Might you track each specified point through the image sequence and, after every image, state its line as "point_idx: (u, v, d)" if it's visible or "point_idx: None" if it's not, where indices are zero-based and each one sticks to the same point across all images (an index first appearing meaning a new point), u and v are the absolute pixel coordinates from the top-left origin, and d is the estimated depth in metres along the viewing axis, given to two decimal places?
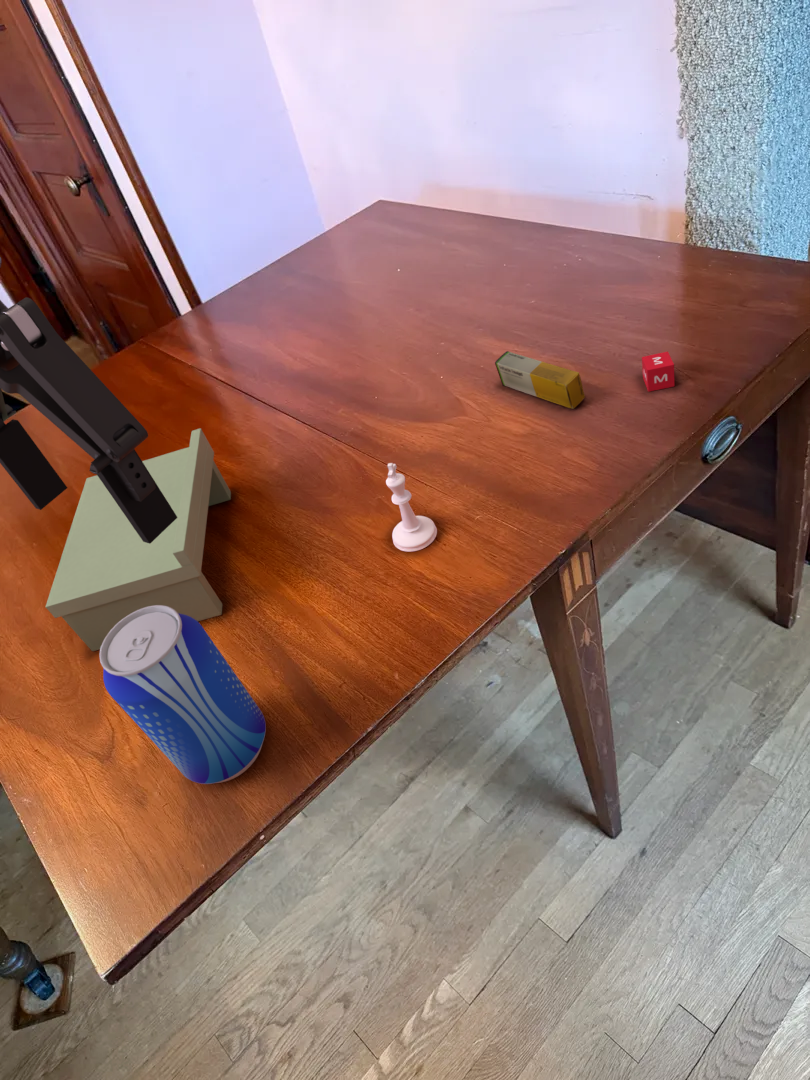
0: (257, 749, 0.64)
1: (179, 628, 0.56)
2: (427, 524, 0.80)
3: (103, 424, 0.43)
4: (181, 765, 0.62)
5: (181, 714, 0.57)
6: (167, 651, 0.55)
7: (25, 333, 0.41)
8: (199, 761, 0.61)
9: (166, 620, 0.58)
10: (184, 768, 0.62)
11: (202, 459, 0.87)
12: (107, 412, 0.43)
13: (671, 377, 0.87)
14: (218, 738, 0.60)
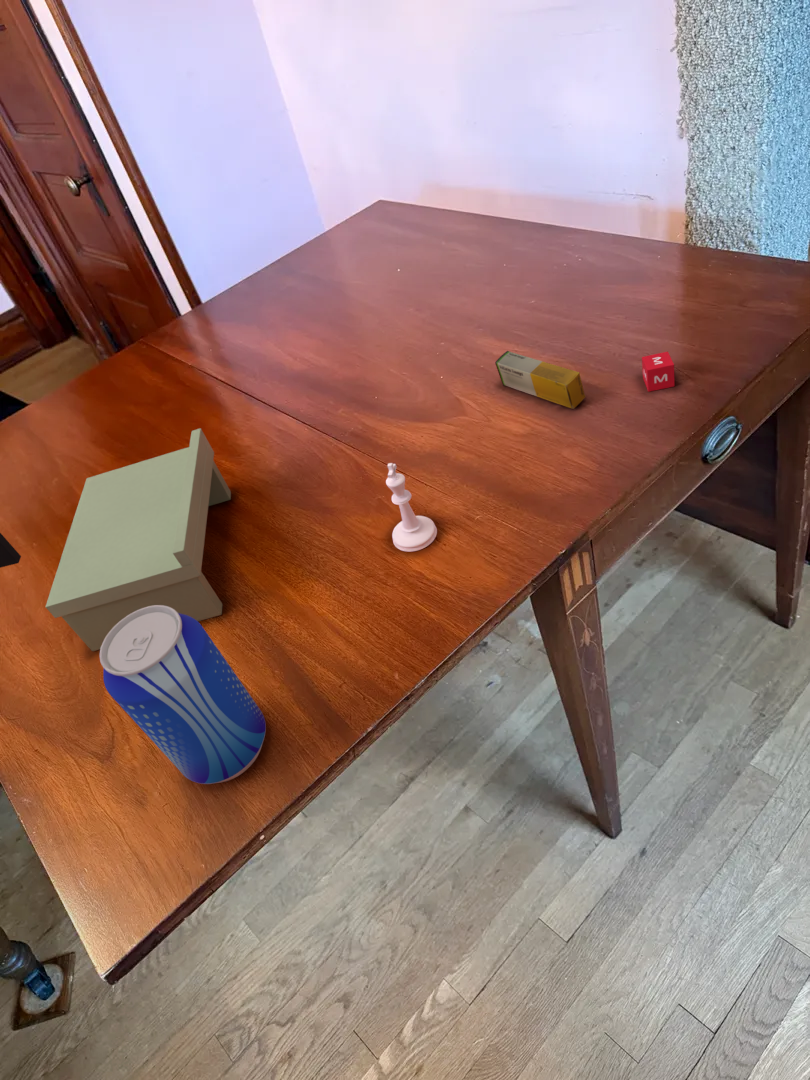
0: (257, 749, 0.64)
1: (179, 628, 0.56)
2: (427, 524, 0.80)
3: None
4: (181, 765, 0.62)
5: (181, 714, 0.57)
6: (167, 651, 0.55)
7: None
8: (199, 761, 0.61)
9: (166, 620, 0.58)
10: (184, 768, 0.62)
11: (202, 459, 0.87)
12: None
13: (671, 377, 0.87)
14: (218, 738, 0.60)
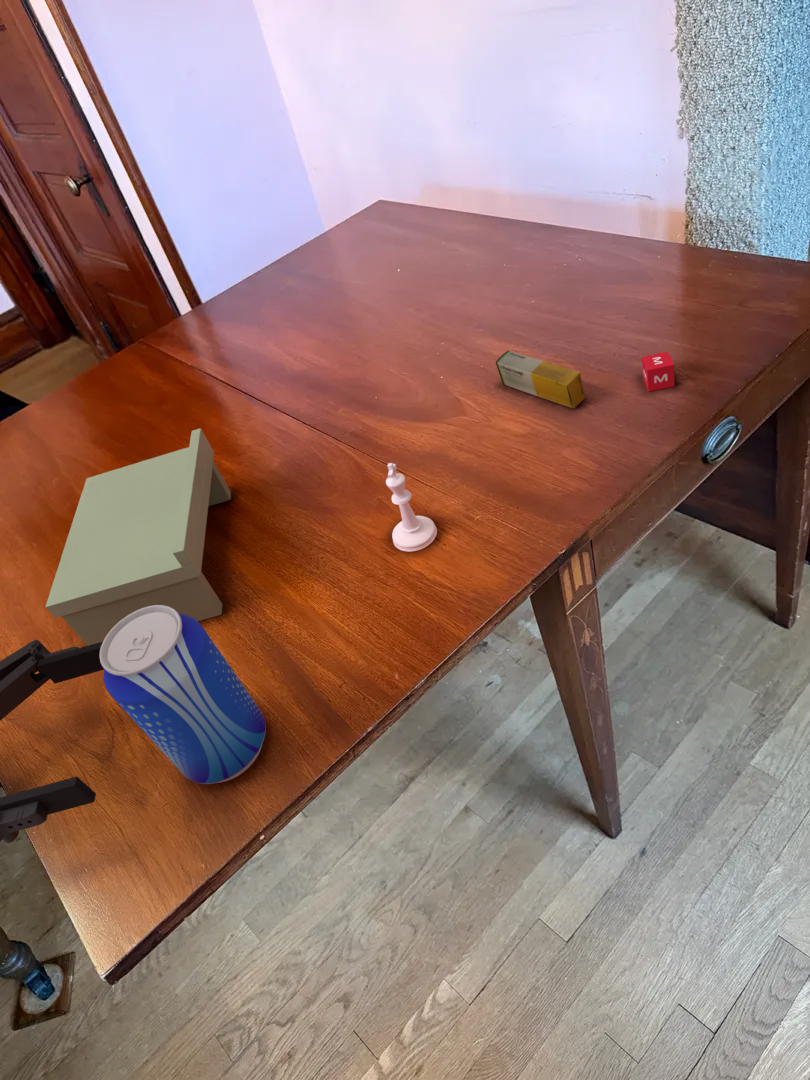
0: (257, 749, 0.64)
1: (179, 628, 0.56)
2: (427, 524, 0.80)
3: None
4: (181, 765, 0.62)
5: (181, 714, 0.57)
6: (167, 651, 0.55)
7: None
8: (199, 761, 0.61)
9: (166, 620, 0.58)
10: (184, 768, 0.62)
11: (202, 459, 0.87)
12: None
13: (671, 377, 0.87)
14: (218, 738, 0.60)
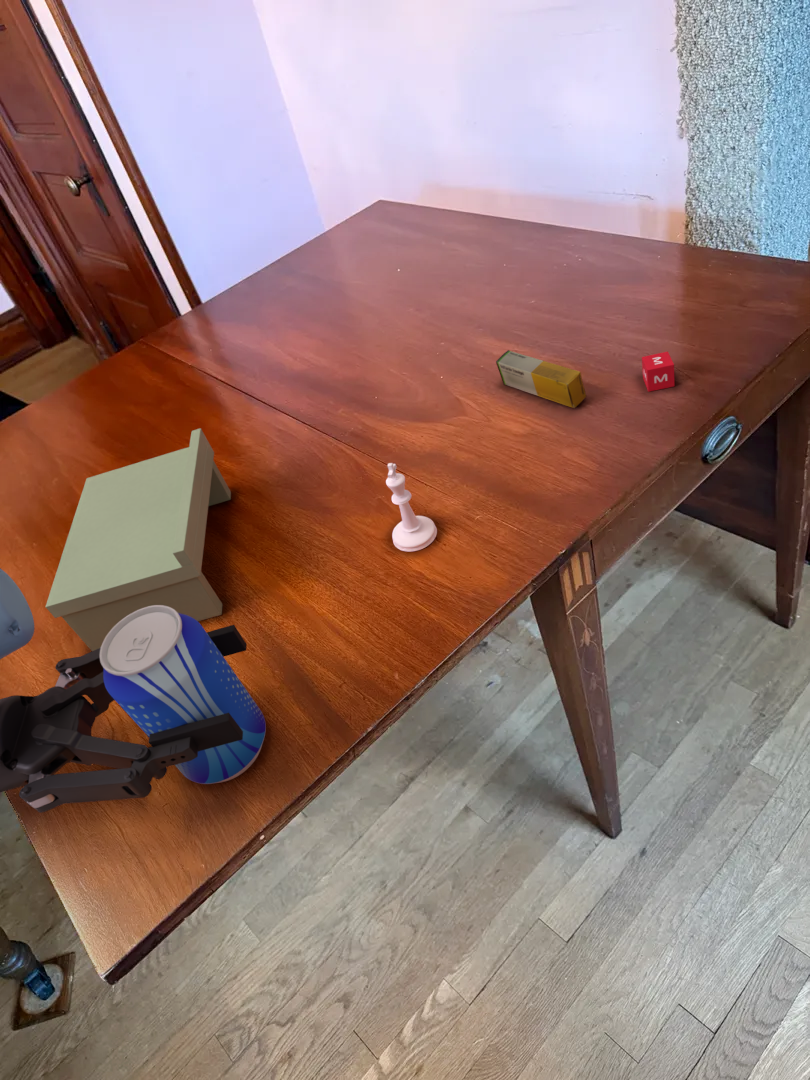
0: (257, 749, 0.64)
1: (179, 628, 0.56)
2: (427, 524, 0.80)
3: None
4: (181, 765, 0.62)
5: (181, 714, 0.57)
6: (167, 651, 0.55)
7: None
8: (199, 761, 0.61)
9: (166, 620, 0.58)
10: (184, 768, 0.62)
11: (202, 459, 0.87)
12: None
13: (671, 377, 0.87)
14: None
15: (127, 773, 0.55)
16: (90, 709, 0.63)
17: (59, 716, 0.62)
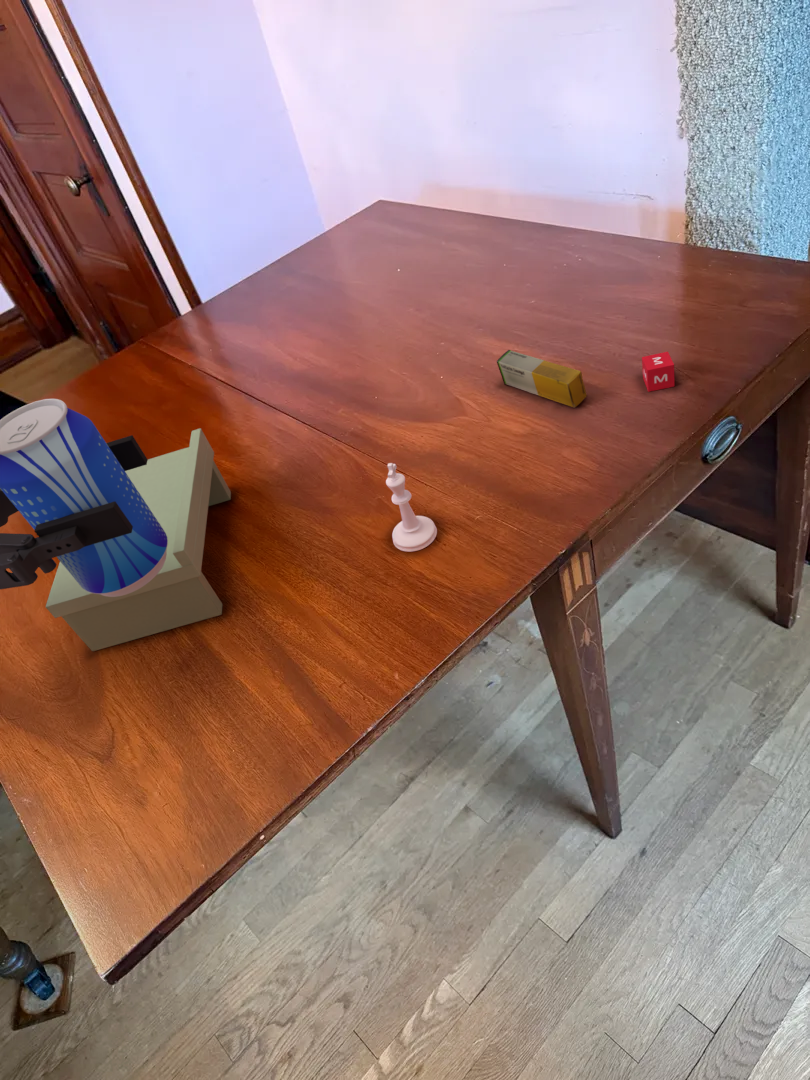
0: (156, 561, 0.64)
1: (63, 413, 0.56)
2: (427, 524, 0.80)
3: None
4: (75, 569, 0.61)
5: (66, 501, 0.56)
6: (48, 430, 0.54)
7: None
8: (92, 563, 0.60)
9: (53, 410, 0.57)
10: (79, 574, 0.62)
11: (202, 459, 0.87)
12: None
13: (671, 377, 0.87)
14: None
15: (9, 556, 0.55)
16: None
17: None
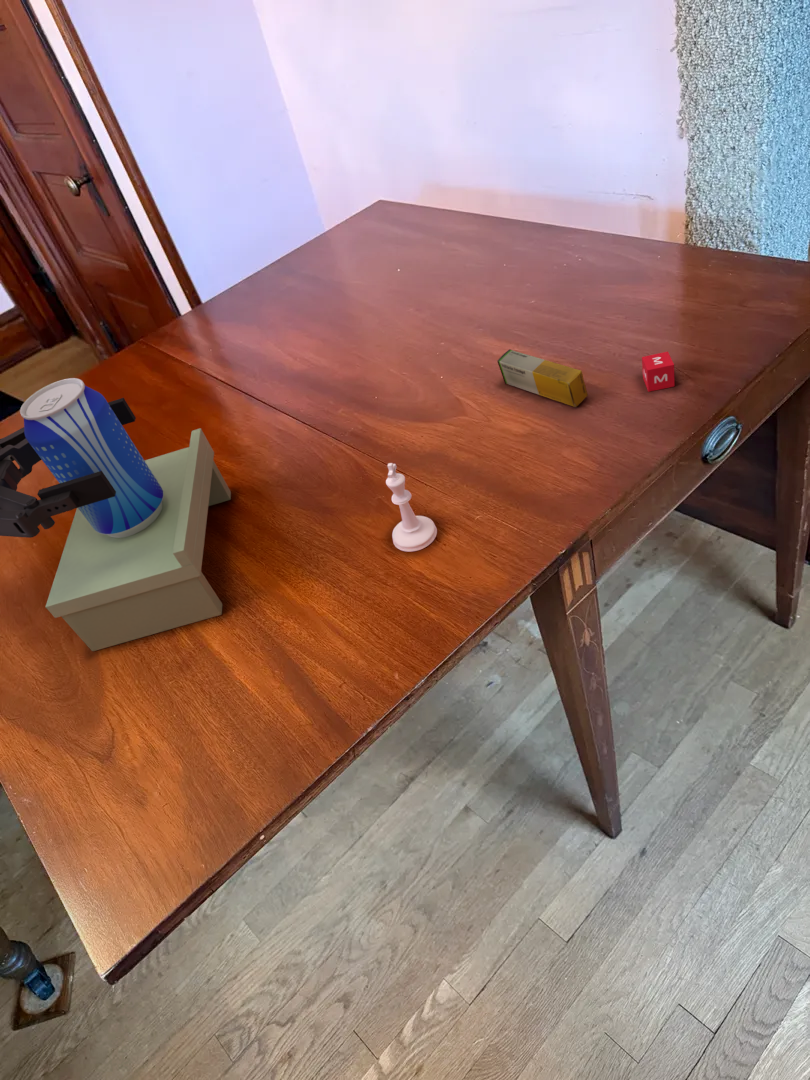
0: (154, 509, 0.80)
1: (82, 388, 0.72)
2: (427, 524, 0.80)
3: None
4: (90, 514, 0.78)
5: (84, 457, 0.73)
6: (70, 401, 0.71)
7: None
8: (104, 508, 0.77)
9: (74, 387, 0.74)
10: (93, 517, 0.78)
11: (202, 459, 0.87)
12: None
13: (671, 377, 0.87)
14: (117, 488, 0.76)
15: (18, 513, 0.70)
16: (16, 470, 0.79)
17: None
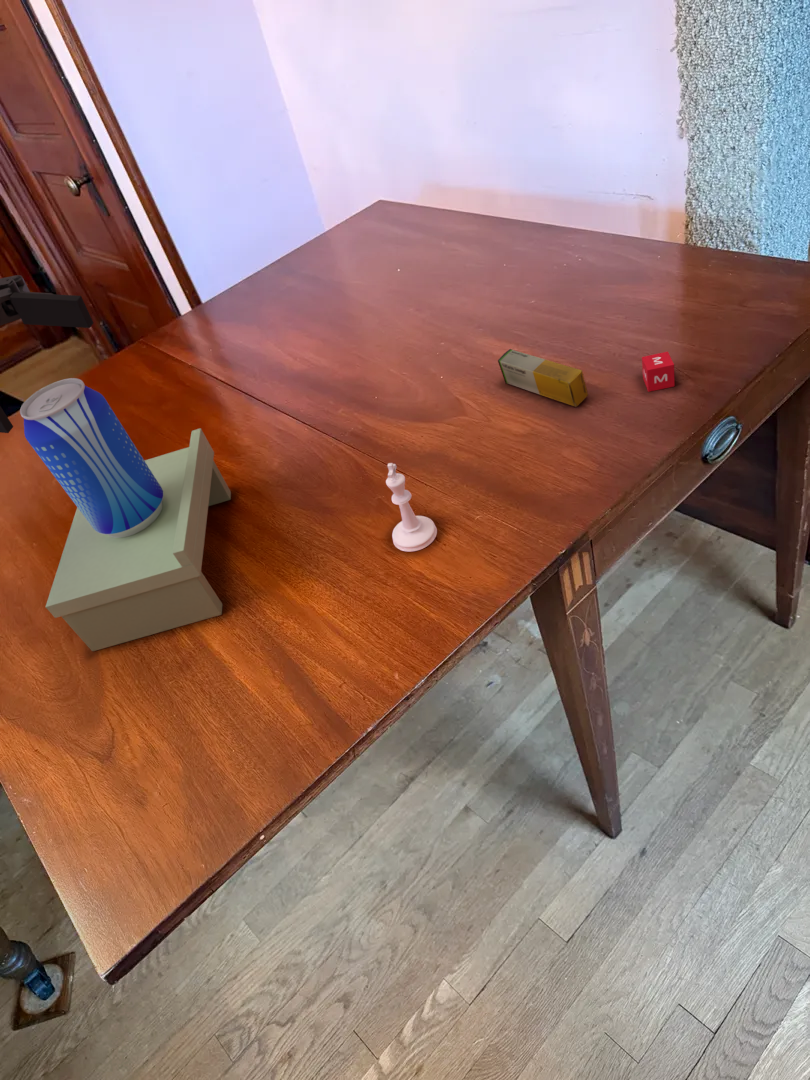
0: (154, 509, 0.80)
1: (81, 388, 0.72)
2: (427, 524, 0.80)
3: None
4: (90, 514, 0.78)
5: (84, 457, 0.73)
6: (70, 401, 0.71)
7: None
8: (104, 508, 0.77)
9: (74, 386, 0.74)
10: (93, 517, 0.78)
11: (202, 459, 0.87)
12: None
13: (671, 377, 0.87)
14: (117, 487, 0.76)
15: None
16: None
17: None
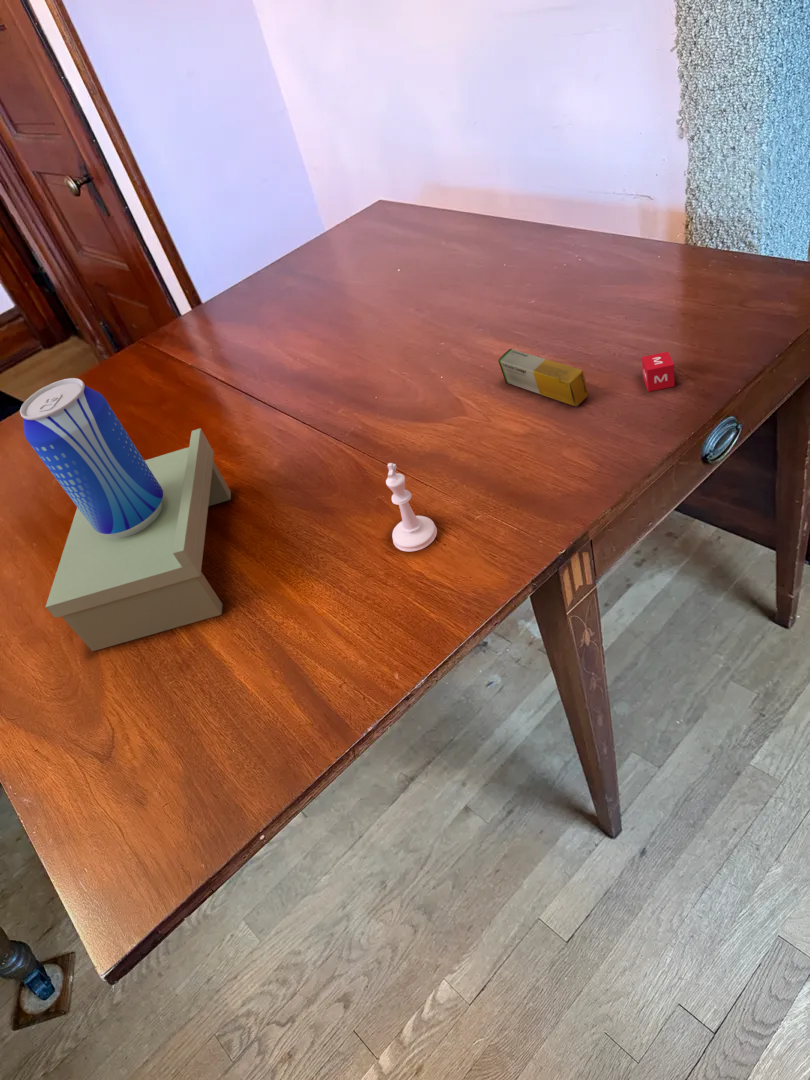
0: (154, 509, 0.80)
1: (81, 388, 0.72)
2: (427, 524, 0.80)
3: None
4: (90, 514, 0.78)
5: (84, 457, 0.73)
6: (70, 401, 0.71)
7: None
8: (104, 508, 0.77)
9: (74, 386, 0.74)
10: (93, 517, 0.78)
11: (202, 459, 0.87)
12: None
13: (671, 377, 0.87)
14: (117, 487, 0.76)
15: None
16: None
17: None
